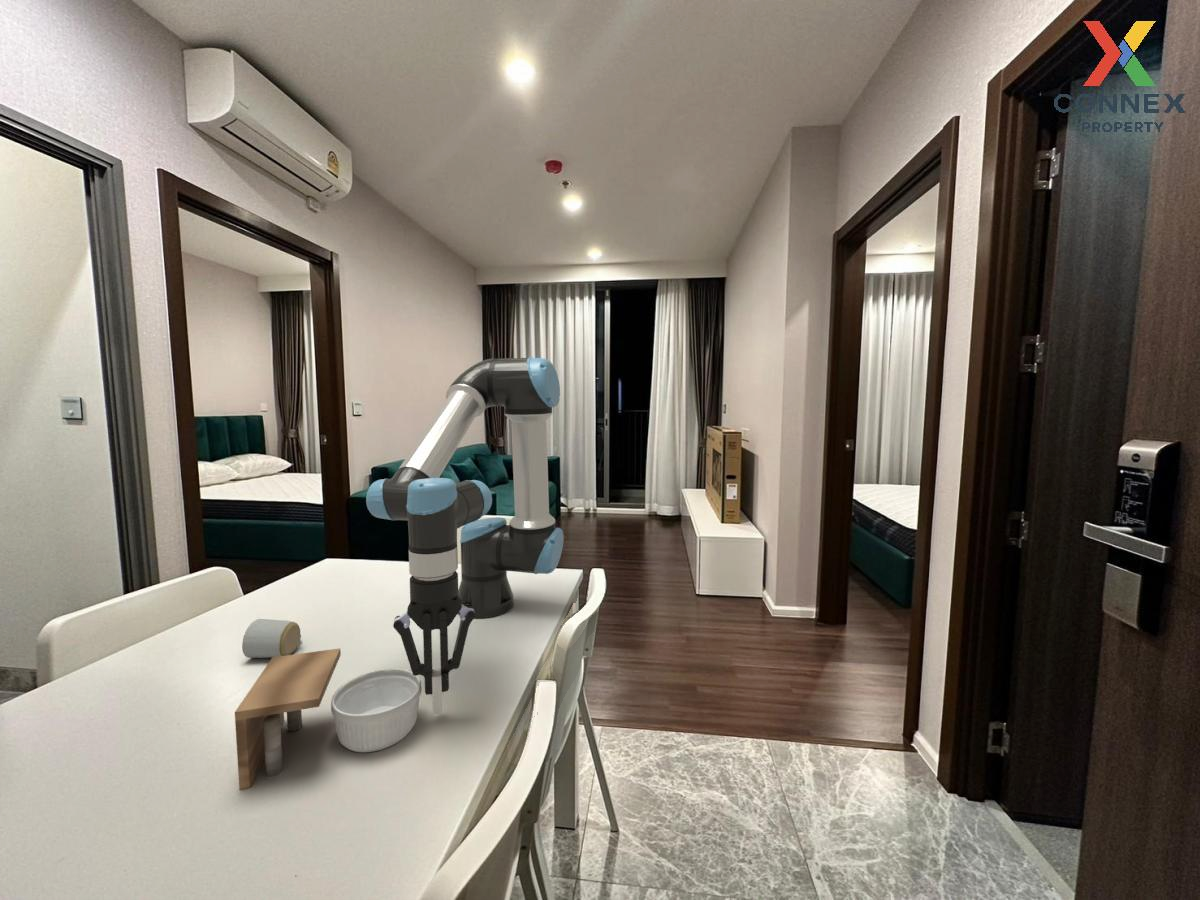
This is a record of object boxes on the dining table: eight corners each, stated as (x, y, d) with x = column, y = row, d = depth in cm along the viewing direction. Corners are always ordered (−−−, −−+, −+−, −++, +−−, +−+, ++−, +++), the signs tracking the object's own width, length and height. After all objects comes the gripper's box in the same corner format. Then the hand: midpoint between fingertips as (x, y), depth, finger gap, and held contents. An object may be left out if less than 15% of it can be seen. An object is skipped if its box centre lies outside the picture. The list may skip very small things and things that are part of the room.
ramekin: (439, 714, 81) (438, 675, 81) (380, 769, 69) (379, 723, 68) (377, 698, 86) (376, 661, 85) (312, 747, 73) (310, 704, 73)
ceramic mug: (283, 664, 97) (282, 627, 97) (241, 665, 97) (240, 628, 96) (311, 640, 108) (310, 607, 107) (274, 640, 107) (272, 607, 107)
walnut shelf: (342, 710, 82) (340, 648, 82) (322, 772, 68) (318, 698, 67) (275, 721, 79) (272, 657, 78) (239, 789, 65) (234, 712, 64)
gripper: (473, 562, 84) (475, 690, 86) (393, 569, 80) (397, 704, 81) (476, 576, 77) (479, 715, 79) (388, 585, 72) (393, 732, 74)
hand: (437, 709), depth 80 cm, fingers closed
